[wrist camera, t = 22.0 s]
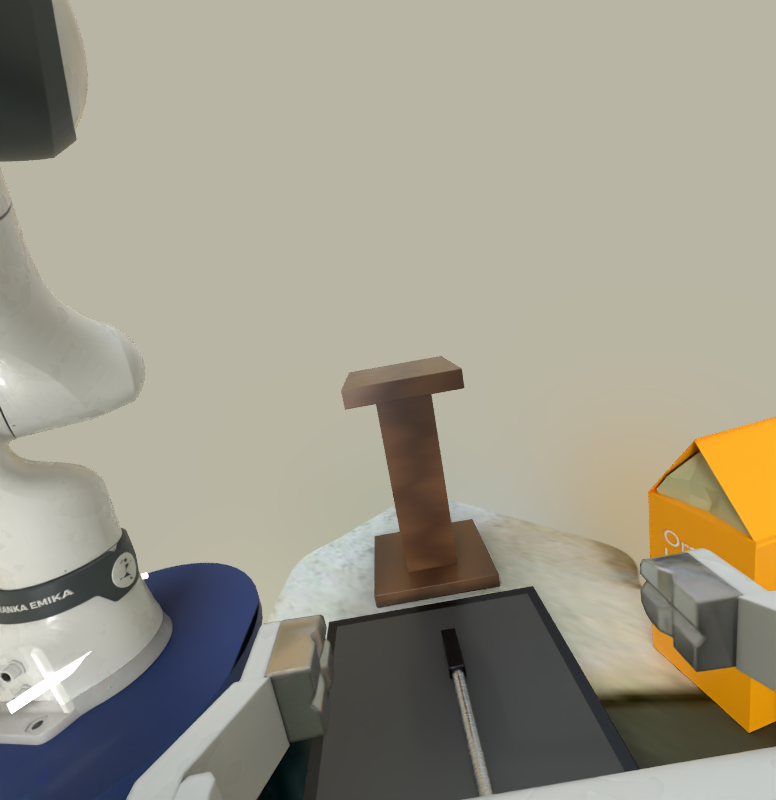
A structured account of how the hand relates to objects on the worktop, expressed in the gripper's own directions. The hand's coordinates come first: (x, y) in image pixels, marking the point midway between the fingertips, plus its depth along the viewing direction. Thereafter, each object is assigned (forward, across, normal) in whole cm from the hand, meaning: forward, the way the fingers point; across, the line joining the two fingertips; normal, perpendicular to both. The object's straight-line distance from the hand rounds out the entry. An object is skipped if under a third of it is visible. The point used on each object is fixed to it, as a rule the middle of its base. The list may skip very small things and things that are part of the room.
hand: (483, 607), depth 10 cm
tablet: (+17, +1, +24) cm, 29 cm away
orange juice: (+16, -22, +24) cm, 36 cm away
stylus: (+14, 0, +23) cm, 27 cm away
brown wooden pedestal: (+35, 0, +24) cm, 42 cm away
